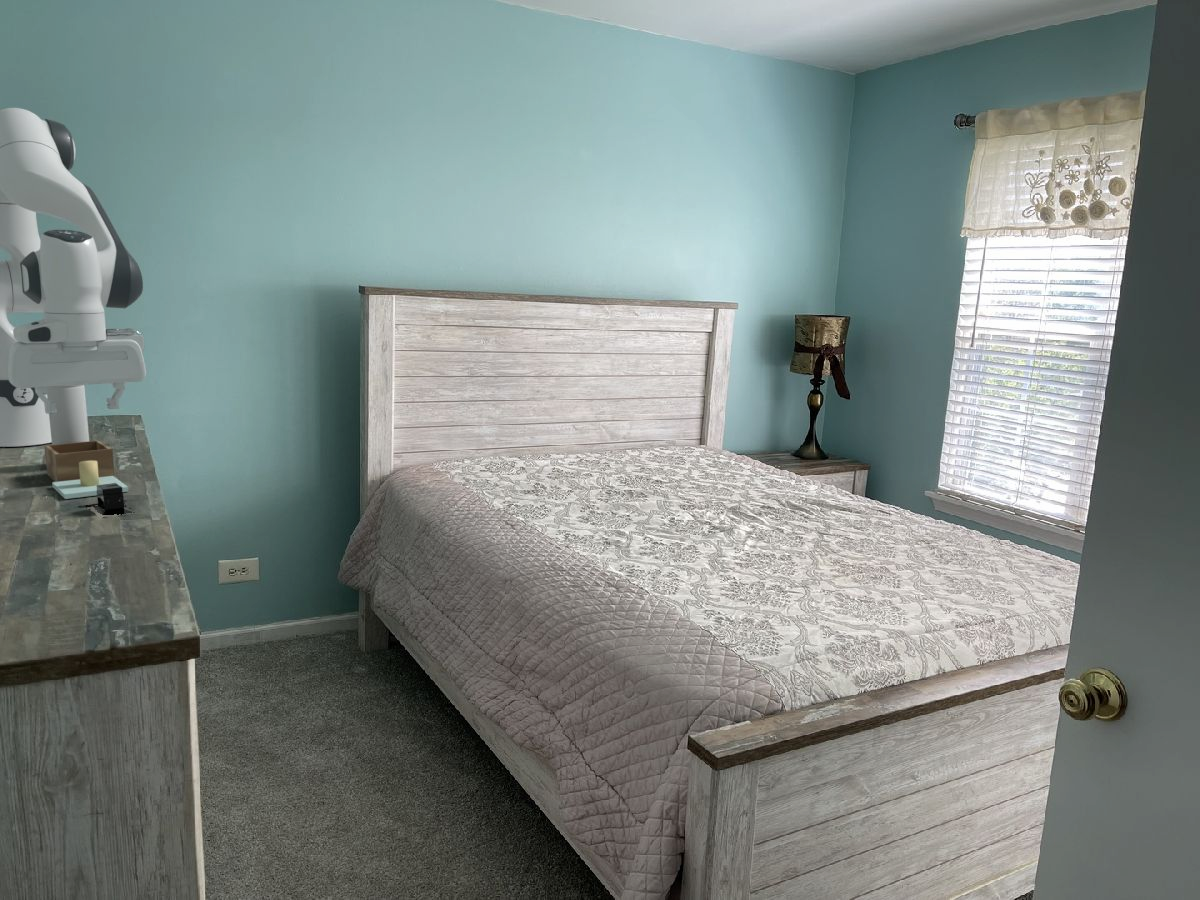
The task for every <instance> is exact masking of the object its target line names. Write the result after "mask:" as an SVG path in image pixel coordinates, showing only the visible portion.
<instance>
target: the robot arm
mask: <svg viewBox="0 0 1200 900" xmlns="http://www.w3.org/2000/svg"><path fill="white" fill-rule="evenodd" d="M75 144H76V143H75V141H74V139H73V136H72V133H71V131H70V130H69V129H68V128H67V126H66V125H65V124H63V123H61V122H58V121H56V120H55V121H54V120H52V119H47V118H45V119H41V117H40V116H38V115H37V114H35V113H34V112H32V111H30V110H28V109H25V108H20V107H7V108H3V109H1V110H0V249H1V250H3V251H5V252H7V253H8V254H9V259H7V260H6V259H5V260H0V447H2V448H5V447H25V446H26V447H27V446H38V445H45V444H50V443H51V444H52V440H51V429H50V419H49V414H51V413H57V409H56V407H57V406H56V403H55V402H49V400H48V399H47V387H53V386H71V385H84V386H85V385H102V384H103V385H104V384H105V385H106V384H112V387H113V388H114V389H115V391H114V392H113V394H112V396H111V397H107V398H106V402H107V404H106V407H107V409H109V410H116V409H117V410H118V409H119V408H120V404H119V403H120V402H119V401H120V400H119V399H120V398H121V396H122V394H123V392H124V391H125V390H126V389H125V388H126V387H125V384H126V383H138V382H143V381H144V379H146V377H147V370H146V363H145V359H144V355H143V352H144V350H145V338H144V336H143V334H142V333H140V332H139V331H138V330H137V331H136V330H135V329H133V328H124V329H123V328H121V329H120V328H106V327H107V326H106V313H105V308H112V309H113V308H114V309H124V310H125V309H127V308H128V307H130V306H131V305H133V304H134V303H135V302H136V301H137V300H138V299H139V298H140V296H141V295H142V293H143V291H144V282H143V280H144V279H143V275H142V271H141V269H140V266H139V264H138V263H137V261H136V260H135V258H134V257H133V256H132V255H131V253H130V252H129V251H128V250H127V248H126V245H124V243H123V242H122V240H121V238H120V236H119V234H118V233H117V231H116V228H115V227H114V225H113V223H112V222H111V220H110V219H111V218H109V216H108V214H107V212H106V211H105V208H104V207H103V205H102V204H101V201H100V200H99V198H98V197H97V195H96V194H95V192H94V191H93V189H91V187H90V186H88V185H86V184H85V183H83V182H81V181H80V180H78V179H77V178H76V177H75V176H74V175H73V174H72V173H71V172H70V170H71V169H72V168H73V166H74V162H75V159H76V152H77V151H76V149H77V148H76V145H75ZM37 214H42V215H46V216H50V217H53V218H56V219H58V220H59V219H60V220H62V221H65V222H68V223H70V224H72V225H74V226H76V227H77V228H78V229H80V230H81V231H79V230H78V231H77V230H72V229H52V230H50V229H49V230H47V231H44V232H43V233H42V234H41V236H40V234H39V228H38V220H37ZM104 307H105V308H104ZM14 313H15V314H16V313H17V314H19V313H21V314H22V313H23V314H24V313H25V314H27V313H29V314H31V313H39V314H40V313H43V318H42V319H39V320H36V321H33V322H28V323H26V324H23V325H19V326H14V325H13V324H11V323H10V321H9V319H8V314H14Z"/></svg>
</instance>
